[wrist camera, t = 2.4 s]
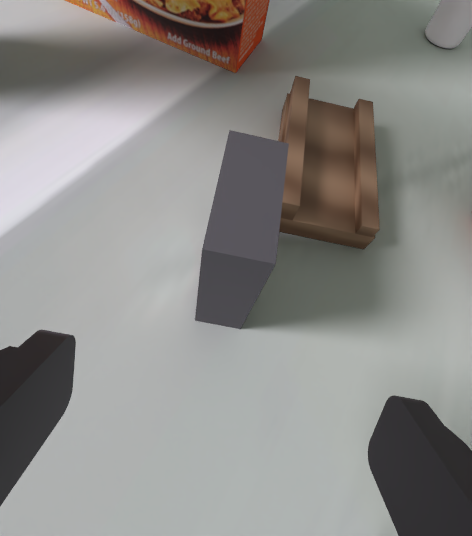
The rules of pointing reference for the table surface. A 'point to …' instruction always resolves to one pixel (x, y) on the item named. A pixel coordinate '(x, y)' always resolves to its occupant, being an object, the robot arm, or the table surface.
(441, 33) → the drinking glass
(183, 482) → the table surface
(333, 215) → the wooden channel tray
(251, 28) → the pasta box
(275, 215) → the dark grey block
